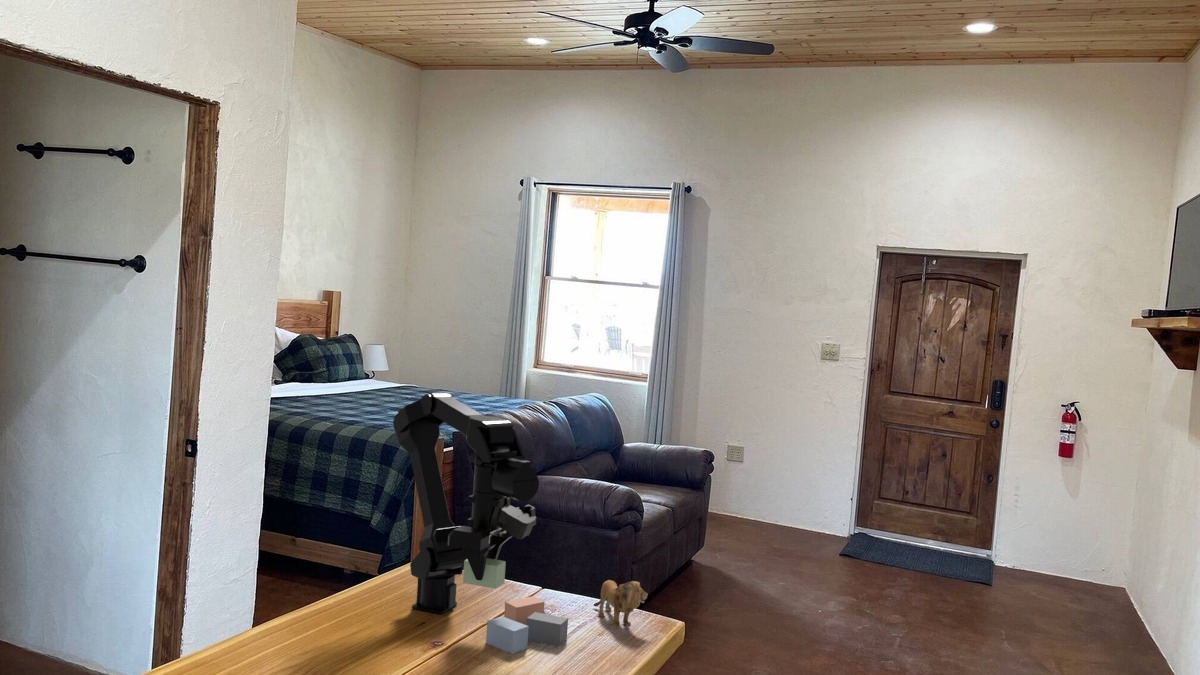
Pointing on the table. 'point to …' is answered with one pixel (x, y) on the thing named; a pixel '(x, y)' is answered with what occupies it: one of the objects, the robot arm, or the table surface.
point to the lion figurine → (621, 599)
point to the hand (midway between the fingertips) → (483, 577)
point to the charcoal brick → (547, 629)
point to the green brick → (486, 574)
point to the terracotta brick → (523, 609)
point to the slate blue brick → (507, 634)
